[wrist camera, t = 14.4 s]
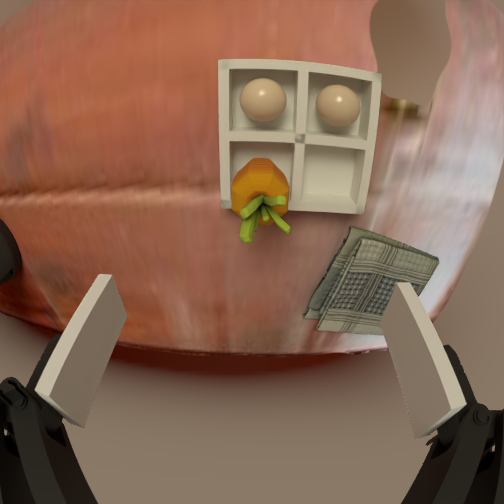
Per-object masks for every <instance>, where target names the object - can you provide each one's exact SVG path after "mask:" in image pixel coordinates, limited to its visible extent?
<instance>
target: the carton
mask: <svg viewBox="0 0 504 504" xmlns="http://www.w3.org/2000/svg"><path fill="white" fill-rule="evenodd" d="M259 78H267V79H271V80H273V81H275V82H277V83H278V84H279V85H281V87H282V88H283V89H284V91H285V94H286V98H287V103H286V107H285V110H284V111H283V113H282V114H281V115H280V116H279V117H278V118H276V119H274V120H272V121H268V122H259V121H255V120H252V119H251V118H249V117H248V116H246V115H245V113H244V112H243V111H242V109H241V106H240V101H239V99H240V93H241V91H242V89H243V88H244V86H245V85H246V84H247V83H249V82H250V81H252V80H255V79H259ZM381 79H382V74H378V73H374V72H369V71H364V70H359V69H354V68H348V67H342V66H336V65H329V64H321V63H312V62H302V61H290V60H272V59H225V60H219V61H218V80H219V149H220V182H221V208H230V209H231V184H232V182H233V179H234V177H235V176H236V174H237V172H238V171H239V170H240V169H242V168H243V167H244V166H245V165H246V164H247V163H248V162H249V161H250V160H251V159H253V158H268V159H270V160H271V161H272V162H273V163H274V164H275V165H276V166H277V167H278V168H279V169H280V170H281V171H282V172H283V173H284V175H285V177H286V179H287V181H288V184H289V200H288V210H295V211H316V212H334V213H350V214H363V213H364V208H365V203H366V198H367V192H368V187H369V181H370V175H371V169H372V163H373V156H374V149H375V142H376V134H377V125H378V116H379V106H380V94H381ZM334 84H338V85H343V86H346V87H348V88H350V89H351V90H352V91H353V92H354V93H355V94H356V95H357V97H358V99H359V101H360V114H359V116H358V118H357V120H356V121H355V122H354V123H353V124H351V125H349V126H347V127H340V128H339V127H333V126H330V125H328V124H326V123H325V122H324V121H323V120H322V119H321V118H320V117H319V115H318V113H317V111H316V106H315V103H316V98H317V95H318V94H319V92H320V91H321V90H322V89H323V88H325V87H327V86H329V85H334Z"/></svg>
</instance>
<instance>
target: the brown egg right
mask: <svg viewBox="0 0 504 504" xmlns="http://www.w3.org/2000/svg"><path fill="white" fill-rule="evenodd" d="M315 106H316V111H317V113H318V115H319V117H320V118H321V119H322V120H323V121H324V122H325V123H326V124H328V125H330V126H333V127H339V128H340V127H347V126H349V125H351V124H353V123H354V122H355V121H356V120H357V118H358V116H359V114H360V101H359V99H358V97H357V95H356V94H355V93H354V92H353V91H352V90H351V89H350V88H348V87H346V86H343V85H338V84H334V85H329V86H327V87H325V88H323V89H322V90H321V91H320V92H319V94H318V95H317V98H316V103H315Z"/></svg>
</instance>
